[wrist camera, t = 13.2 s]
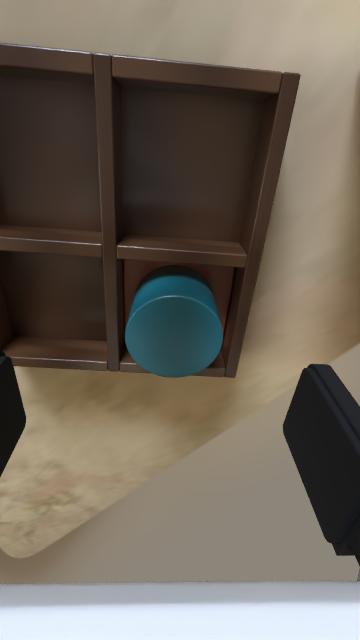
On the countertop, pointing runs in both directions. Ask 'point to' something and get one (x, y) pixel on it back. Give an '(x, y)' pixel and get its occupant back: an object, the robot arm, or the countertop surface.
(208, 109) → the grid
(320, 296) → the countertop surface
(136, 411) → the countertop surface
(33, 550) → the countertop surface
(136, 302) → the teal cylinder
